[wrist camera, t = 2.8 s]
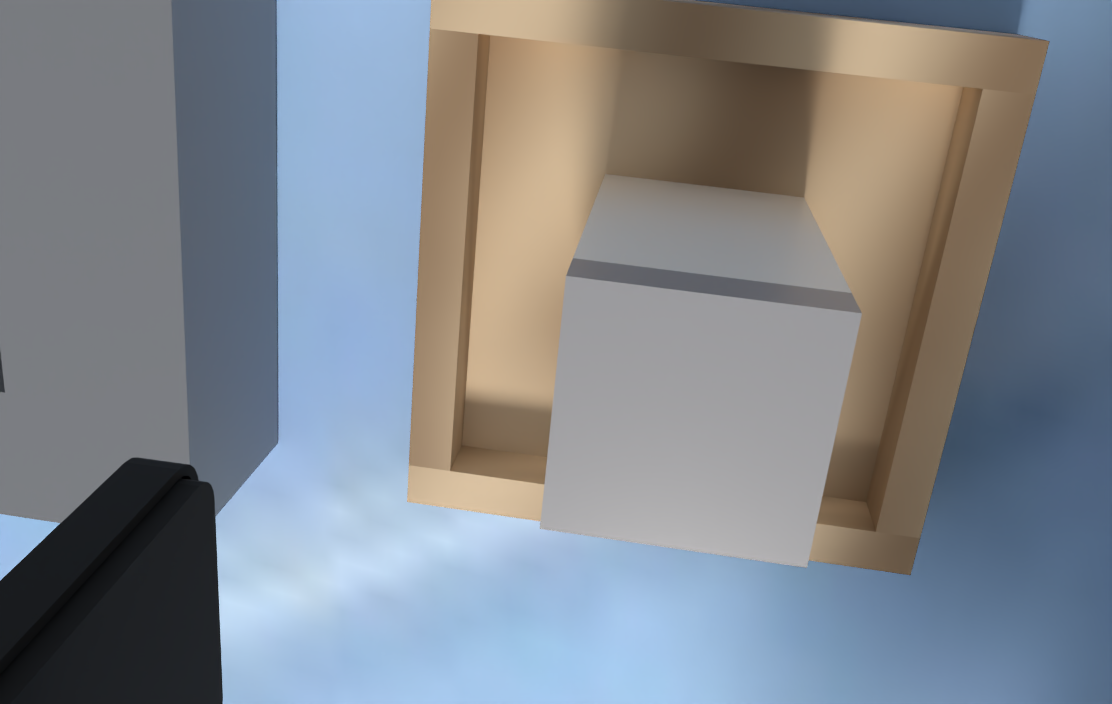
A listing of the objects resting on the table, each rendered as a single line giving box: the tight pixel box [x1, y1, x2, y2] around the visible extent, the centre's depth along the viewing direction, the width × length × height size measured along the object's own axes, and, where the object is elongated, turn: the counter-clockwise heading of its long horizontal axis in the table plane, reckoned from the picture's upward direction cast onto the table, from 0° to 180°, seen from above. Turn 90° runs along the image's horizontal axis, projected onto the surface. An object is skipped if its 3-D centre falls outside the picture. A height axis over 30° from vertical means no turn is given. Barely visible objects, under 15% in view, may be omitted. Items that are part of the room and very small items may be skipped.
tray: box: [407, 0, 1049, 575], centre depth 23 cm, size 12×12×2 cm
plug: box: [540, 174, 862, 568], centre depth 20 cm, size 4×4×8 cm
